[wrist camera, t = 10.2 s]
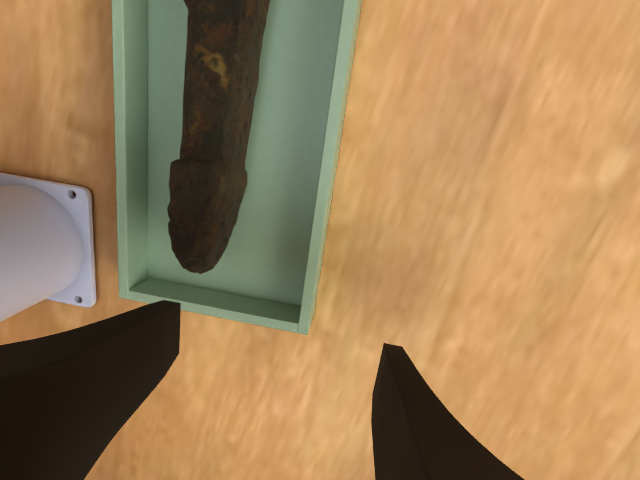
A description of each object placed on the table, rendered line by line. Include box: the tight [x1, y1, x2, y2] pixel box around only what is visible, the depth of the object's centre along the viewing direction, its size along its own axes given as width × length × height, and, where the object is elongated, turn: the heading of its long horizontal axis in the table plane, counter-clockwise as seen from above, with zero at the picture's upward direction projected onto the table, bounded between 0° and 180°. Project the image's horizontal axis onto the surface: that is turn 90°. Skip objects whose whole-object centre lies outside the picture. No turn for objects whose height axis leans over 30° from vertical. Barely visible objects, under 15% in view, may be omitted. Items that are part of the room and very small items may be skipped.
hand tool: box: [167, 0, 270, 274], centre depth 17 cm, size 19×4×5 cm, turn 167°
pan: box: [111, 0, 362, 335], centre depth 18 cm, size 11×23×2 cm, turn 172°
